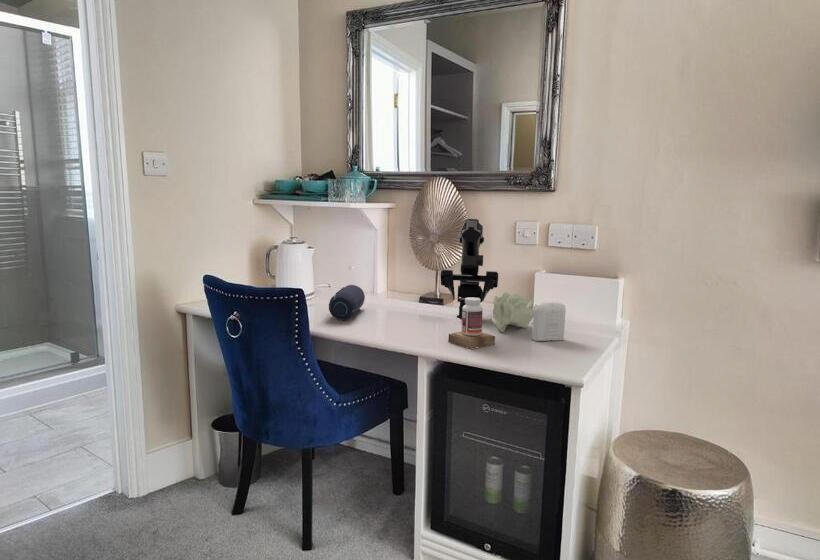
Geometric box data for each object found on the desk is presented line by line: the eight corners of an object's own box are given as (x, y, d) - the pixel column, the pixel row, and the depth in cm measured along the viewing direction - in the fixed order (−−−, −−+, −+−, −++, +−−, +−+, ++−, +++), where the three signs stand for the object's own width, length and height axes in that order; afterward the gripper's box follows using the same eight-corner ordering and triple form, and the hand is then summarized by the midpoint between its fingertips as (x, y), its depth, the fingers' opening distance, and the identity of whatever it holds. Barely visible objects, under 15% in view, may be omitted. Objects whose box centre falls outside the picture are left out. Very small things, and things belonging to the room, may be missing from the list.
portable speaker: (341, 307, 222) (341, 282, 220) (366, 308, 221) (366, 283, 219) (326, 322, 197) (326, 294, 195) (354, 323, 196) (354, 295, 194)
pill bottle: (485, 333, 173) (486, 298, 172) (476, 337, 168) (477, 301, 167) (467, 330, 177) (468, 296, 175) (457, 334, 172) (459, 298, 170)
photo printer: (559, 337, 182) (561, 299, 180) (565, 340, 178) (568, 302, 176) (529, 338, 179) (531, 300, 177) (535, 342, 175) (537, 303, 173)
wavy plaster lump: (507, 342, 200) (511, 301, 205) (538, 340, 190) (541, 297, 195) (475, 329, 188) (480, 285, 193) (507, 326, 179) (511, 280, 184)
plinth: (471, 337, 180) (471, 328, 179) (494, 344, 172) (494, 335, 172) (448, 341, 174) (448, 333, 173) (471, 349, 166) (471, 340, 165)
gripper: (441, 245, 183) (438, 284, 174) (499, 247, 181) (498, 286, 172) (442, 265, 192) (439, 303, 183) (497, 267, 190) (497, 306, 181)
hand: (468, 299), depth 180 cm, fingers open, 9 cm apart
